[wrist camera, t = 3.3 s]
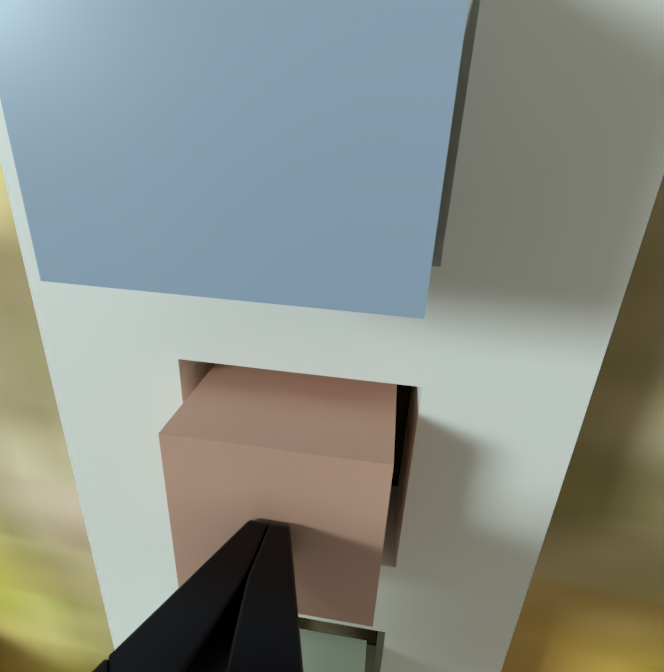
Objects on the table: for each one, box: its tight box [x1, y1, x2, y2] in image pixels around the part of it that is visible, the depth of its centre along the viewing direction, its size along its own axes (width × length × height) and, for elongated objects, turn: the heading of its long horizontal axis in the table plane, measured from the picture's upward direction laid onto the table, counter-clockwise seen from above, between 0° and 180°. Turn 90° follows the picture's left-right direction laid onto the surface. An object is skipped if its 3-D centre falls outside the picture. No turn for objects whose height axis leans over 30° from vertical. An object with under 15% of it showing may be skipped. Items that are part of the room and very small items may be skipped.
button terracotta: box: [158, 363, 397, 627], centre depth 11 cm, size 4×4×4 cm
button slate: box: [0, 0, 469, 319], centre depth 6 cm, size 4×4×4 cm
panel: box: [0, 0, 664, 672], centre depth 12 cm, size 28×12×3 cm, turn 177°
